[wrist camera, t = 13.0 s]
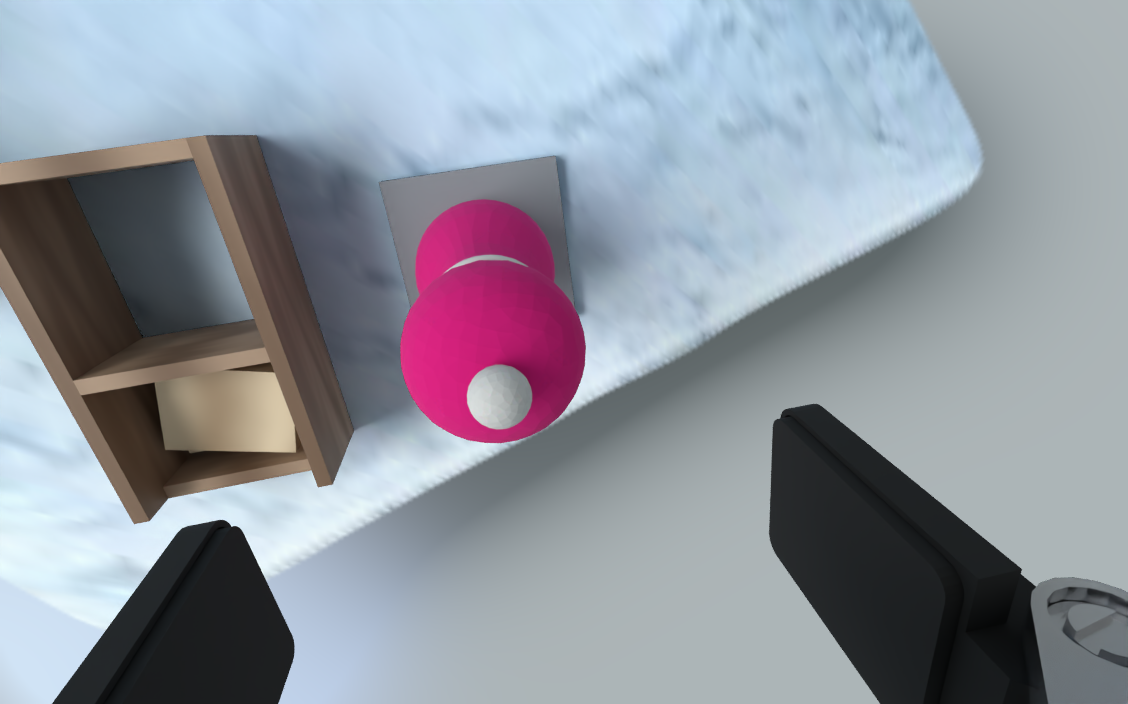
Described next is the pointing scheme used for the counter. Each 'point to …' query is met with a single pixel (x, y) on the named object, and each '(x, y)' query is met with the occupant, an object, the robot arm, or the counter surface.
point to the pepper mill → (490, 326)
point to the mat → (507, 182)
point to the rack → (133, 364)
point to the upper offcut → (227, 412)
